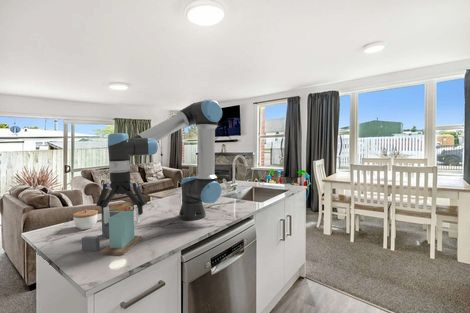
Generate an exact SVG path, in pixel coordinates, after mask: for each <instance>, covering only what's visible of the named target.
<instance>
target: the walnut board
mask: <svg viewBox="0 0 470 313" xmlns="http://www.w3.org/2000/svg"><path fill="white" fill-rule="evenodd" d="M134 236H135V238H134V239H133V240H132V241H131V242H129V243H128V244H127V245H126V246H124V247H123V248H110V244H108V245H107V246H106V247H104V248H103V249H102V250H100V251H99V254H100V256H101V255H102V256H104V255H106V256H107V255H111V256H114V255H115V256H117V255H118V256H122V255H123V256H124V255H125V254H126V253H127V252H128V251H130V250H131V249H132V247H134V246H135V245H136V244H138V242H140V241H141V240H142V239H143V235H134Z"/></svg>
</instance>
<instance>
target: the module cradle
mask: <svg viewBox="0 0 470 313" xmlns="http://www.w3.org/2000/svg"><path fill="white" fill-rule="evenodd" d="M119 212H121V211H109V214H110V217H112V216H114V215H115V214H117V213H119ZM101 231H102V232H101V234H102V236H103V238H109V222H108V223H106V224H104V215H102V211H101ZM100 247H101V246H100V236H97V235H95V236H91V235H90V236H89V235H87V236H83V237H81V251H82V250H85V251H84V252H86V250H88V251H89V250H91V251H93V252H94V251H95V252H97V251H99V250H100V249H101V248H100ZM88 251H87V252H88ZM91 251H90V252H91Z"/></svg>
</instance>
